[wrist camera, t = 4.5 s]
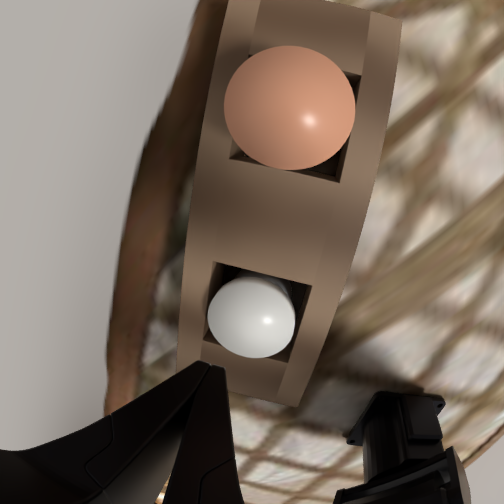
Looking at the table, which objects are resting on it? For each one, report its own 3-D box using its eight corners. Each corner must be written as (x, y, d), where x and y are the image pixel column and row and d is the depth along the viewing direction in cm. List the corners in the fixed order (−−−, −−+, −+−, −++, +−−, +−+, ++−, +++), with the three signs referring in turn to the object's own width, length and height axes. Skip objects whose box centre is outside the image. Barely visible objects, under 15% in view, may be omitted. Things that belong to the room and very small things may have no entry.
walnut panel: (300, 377, 20) (297, 407, 18) (191, 348, 21) (175, 374, 19) (388, 39, 12) (402, 20, 10) (244, 12, 13) (231, -9, 11)
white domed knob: (289, 330, 19) (282, 366, 16) (221, 312, 20) (203, 345, 16) (307, 267, 18) (304, 296, 14) (232, 249, 18) (213, 273, 15)
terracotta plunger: (334, 174, 13) (340, 183, 10) (238, 153, 14) (213, 156, 10) (352, 81, 12) (364, 61, 8) (255, 63, 12) (236, 38, 9)
